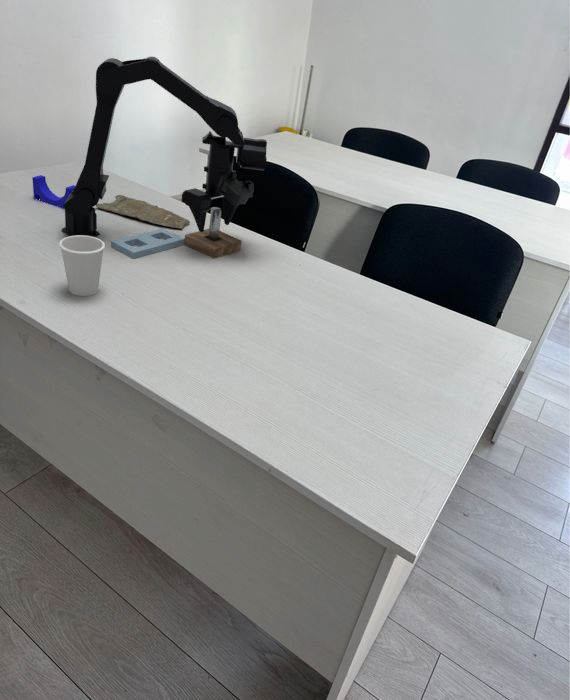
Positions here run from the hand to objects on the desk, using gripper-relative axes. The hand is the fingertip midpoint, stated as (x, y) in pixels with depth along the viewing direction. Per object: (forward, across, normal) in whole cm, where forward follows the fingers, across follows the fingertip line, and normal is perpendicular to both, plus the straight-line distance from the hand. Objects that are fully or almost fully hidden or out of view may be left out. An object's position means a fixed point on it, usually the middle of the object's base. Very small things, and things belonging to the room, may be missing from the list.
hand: (214, 228), depth 143 cm
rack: (+5, -13, +9) cm, 16 cm away
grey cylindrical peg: (+5, 0, 0) cm, 5 cm away
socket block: (+5, 0, 0) cm, 5 cm away
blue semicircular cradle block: (+6, -14, +43) cm, 45 cm away
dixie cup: (+5, -39, -1) cm, 39 cm away
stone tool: (+6, 0, +25) cm, 25 cm away
